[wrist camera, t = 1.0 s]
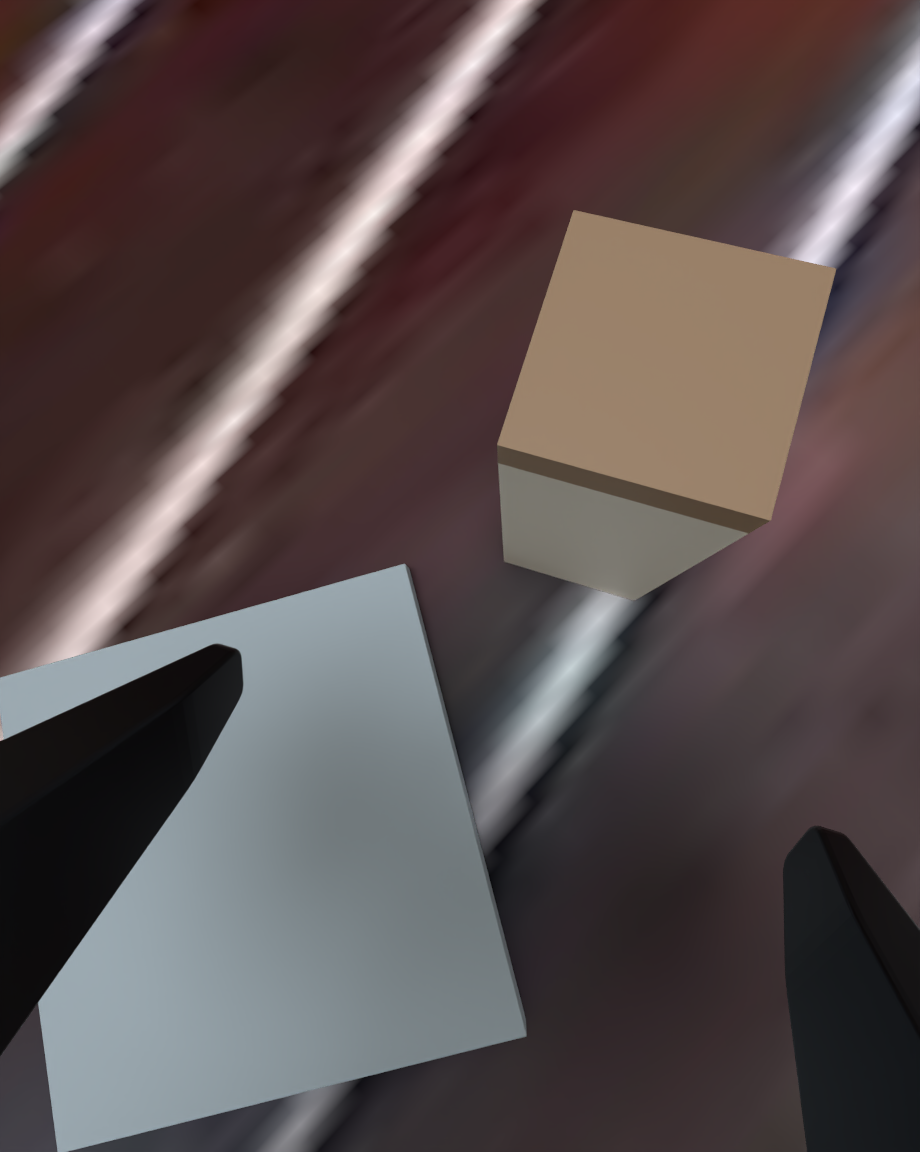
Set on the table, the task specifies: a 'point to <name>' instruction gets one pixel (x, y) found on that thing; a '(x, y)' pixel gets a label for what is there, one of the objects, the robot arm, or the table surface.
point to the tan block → (654, 403)
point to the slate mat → (282, 879)
